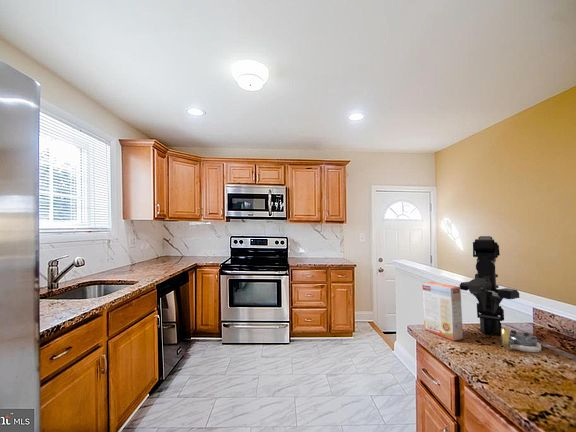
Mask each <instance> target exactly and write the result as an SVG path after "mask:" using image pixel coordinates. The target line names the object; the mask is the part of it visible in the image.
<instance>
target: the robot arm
mask: <svg viewBox="0 0 576 432" xmlns="http://www.w3.org/2000/svg"><path fill="white" fill-rule="evenodd" d="M472 256H473V258H476V264H475V269H476V272H477V273H475V275H474V278H473V279H471V280H469V281H463V282H461V283H460V284H459V287H460V291H465V292H467V291H469V293H470V294H471V295H472V296H474V297H475V298H476V300H477V303H476V316H477V319H479V326H480V327H479V328H478V329H477V330H478V331H479V332H481V333H482V334H484V335H485V336H494V337H495V336H498V337H499V336H501V328H503V327H502V322H503V321H505V312H504V311H505V310H504V309H503V307H502V305H500V304H501V302H502V301H503V300H504V299H505V300H514V299H519V298H520V297H521V296H520V292H519V291H518V289H513V288H507V287H504V288H499V284H497V278H499V275H498V274H497V273H496V261H497V259H498V258H499V257H500V256H501V255H500V245H499V244H498V242H496V241H495V239H494V238H493V236H491V235H484V236H483V235H481V236H478V238H477V239H476V238H475V239H474V241H472Z"/></svg>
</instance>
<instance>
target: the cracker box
mask: <svg viewBox="0 0 576 432" xmlns="http://www.w3.org/2000/svg"><path fill="white" fill-rule="evenodd" d="M461 291H462V290H461V289H460V286H456V285H451V284H447V283H442V282H441V283H440V282H435V281H425V282H422V302H423V305H422V306H423V326H424V331H427V332H429V333H432V334H434V335H437V336H440V337H442V338H445V339H448V340H449V341H453V342H454V341H460V340H463V339H464V330H463V329H464V328H463V312H462V296H461V295H462V294H461V293H462V292H461Z"/></svg>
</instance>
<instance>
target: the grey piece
mask: <svg viewBox="0 0 576 432" xmlns="http://www.w3.org/2000/svg"><path fill="white" fill-rule="evenodd" d="M537 342H538V338H537V336H536V335H532V334H530V332H528V331H524V332H521V331H517V330H515V329H509V328H507V327H502V328H501V346H503V347H506V348H510V345H513V344H518V345H522V346H536V345H537Z"/></svg>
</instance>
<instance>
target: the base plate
mask: <svg viewBox="0 0 576 432" xmlns="http://www.w3.org/2000/svg"><path fill="white" fill-rule="evenodd" d="M509 348H511V349H513V350H516V351H521V352H526V353H527V352H528V353H539V352H541V351H542V344H541V343H540V342H538V341H537V345H536V346H522V345H518V344H513V345H510V347H509Z"/></svg>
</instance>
